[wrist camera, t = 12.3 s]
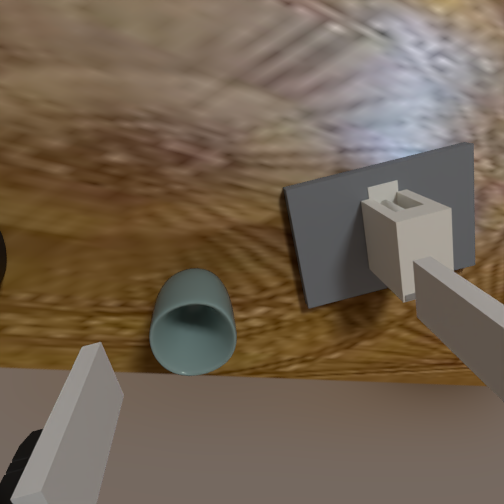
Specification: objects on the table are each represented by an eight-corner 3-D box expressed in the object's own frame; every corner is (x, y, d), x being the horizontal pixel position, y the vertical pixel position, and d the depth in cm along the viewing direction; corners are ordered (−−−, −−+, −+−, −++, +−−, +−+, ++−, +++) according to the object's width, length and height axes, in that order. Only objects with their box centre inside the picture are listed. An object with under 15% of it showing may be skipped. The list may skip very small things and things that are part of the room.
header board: (305, 302, 47) (319, 329, 42) (283, 187, 42) (296, 200, 36) (467, 260, 48) (502, 281, 42) (464, 142, 43) (504, 148, 37)
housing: (369, 269, 45) (404, 303, 37) (360, 201, 42) (396, 222, 34) (412, 257, 45) (455, 289, 37) (406, 189, 42) (452, 208, 35)
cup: (218, 250, 44) (224, 290, 34) (236, 311, 46) (246, 363, 37) (149, 269, 43) (135, 315, 34) (171, 329, 46) (164, 386, 37)
